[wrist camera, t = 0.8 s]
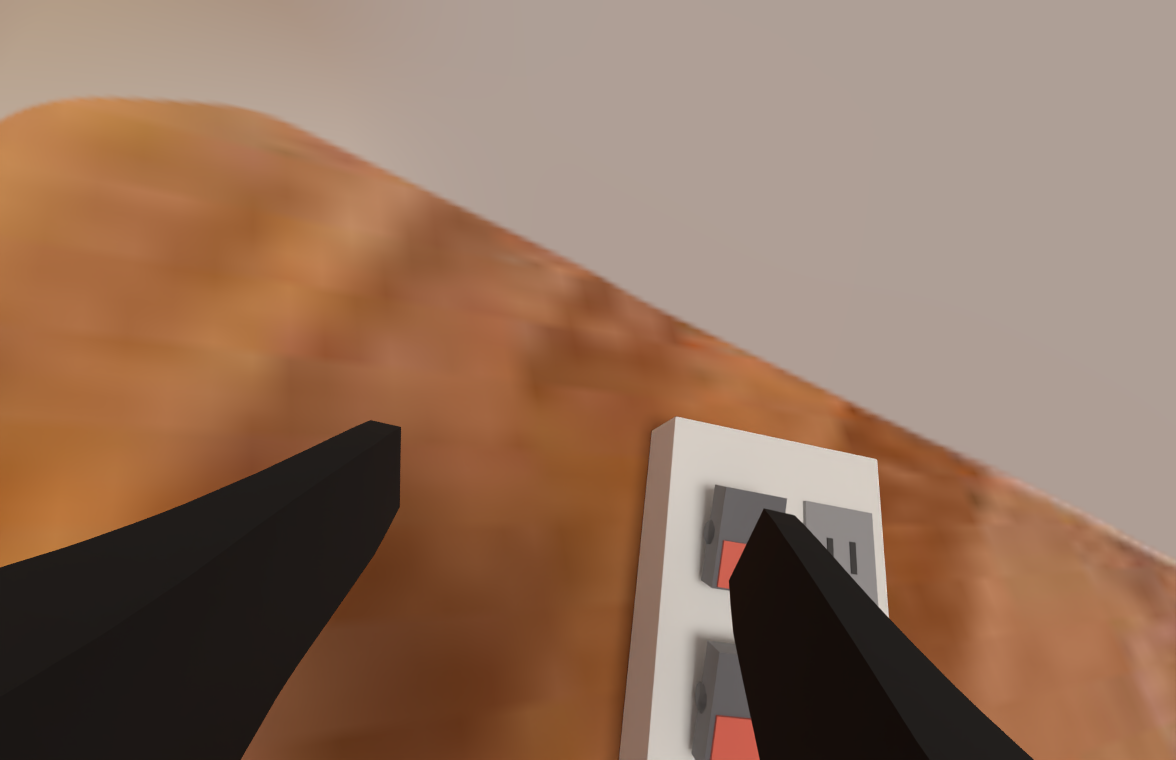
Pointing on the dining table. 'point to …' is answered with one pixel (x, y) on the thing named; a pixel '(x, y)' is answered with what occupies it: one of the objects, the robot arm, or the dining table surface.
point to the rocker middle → (722, 709)
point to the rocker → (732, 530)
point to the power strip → (677, 548)
